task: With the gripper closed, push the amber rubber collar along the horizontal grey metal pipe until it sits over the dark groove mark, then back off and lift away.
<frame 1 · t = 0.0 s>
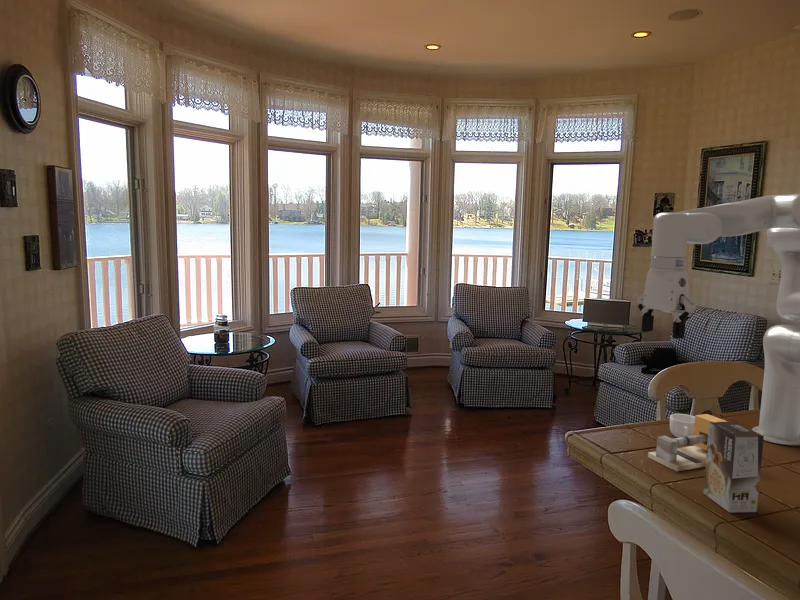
hand: (662, 334, 139), 31 cm above the table, fingers open, 9 cm apart
coffee box: (728, 503, 120), on the table
pipe stand: (692, 459, 142), on the table
collar: (709, 432, 143), point 6 cm above the table, slide at 0.0 cm
teacup: (683, 439, 157), on the table
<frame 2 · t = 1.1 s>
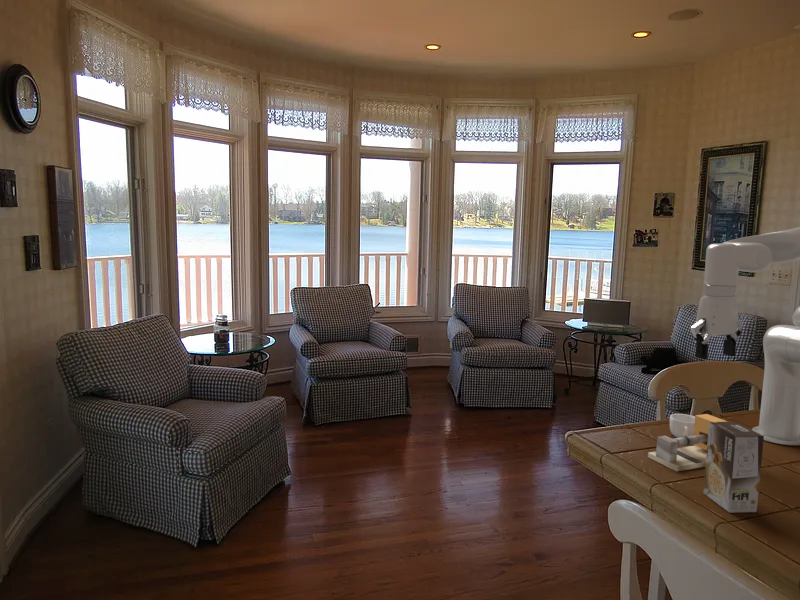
hand: (715, 356, 149), 24 cm above the table, fingers open, 9 cm apart
nothing on the table moved.
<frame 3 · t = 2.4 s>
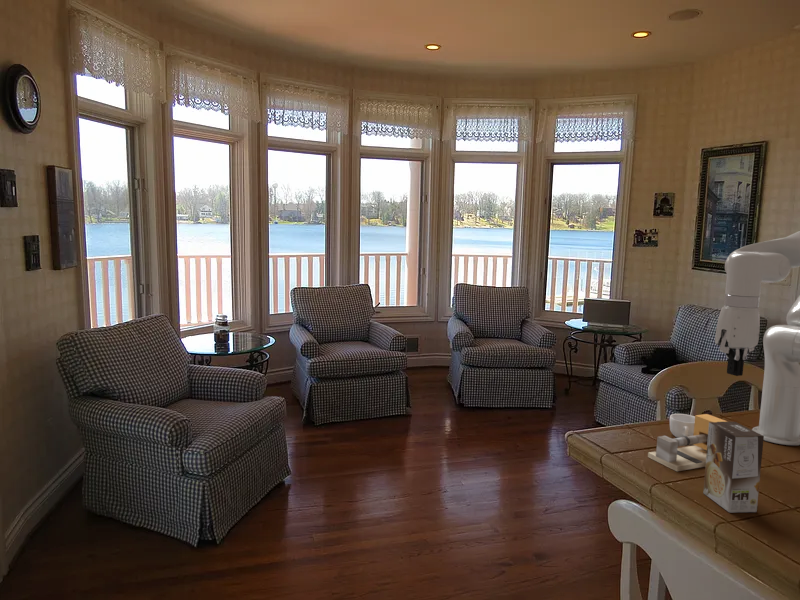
hand: (734, 374, 144), 21 cm above the table, fingers closed
nothing on the table moved.
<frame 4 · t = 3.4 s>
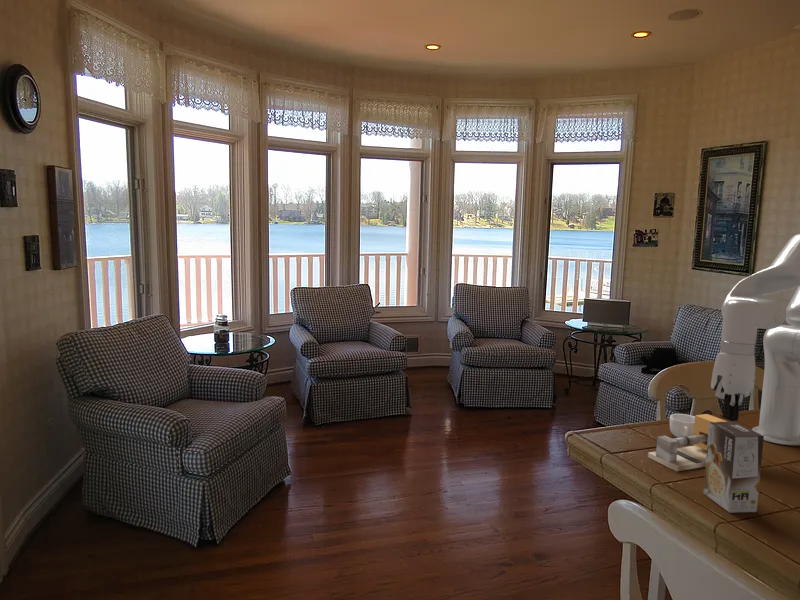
hand: (730, 419, 145), 9 cm above the table, fingers closed
nothing on the table moved.
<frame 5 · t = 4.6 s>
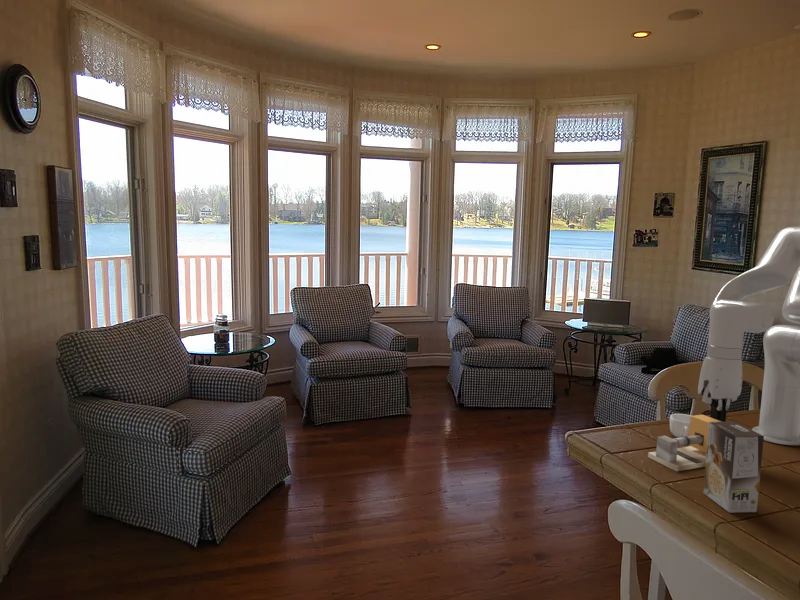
hand: (717, 424, 144), 8 cm above the table, fingers closed
collar: (705, 433, 143), point 6 cm above the table, slide at 1.5 cm, touching gripper
everything else where it was.
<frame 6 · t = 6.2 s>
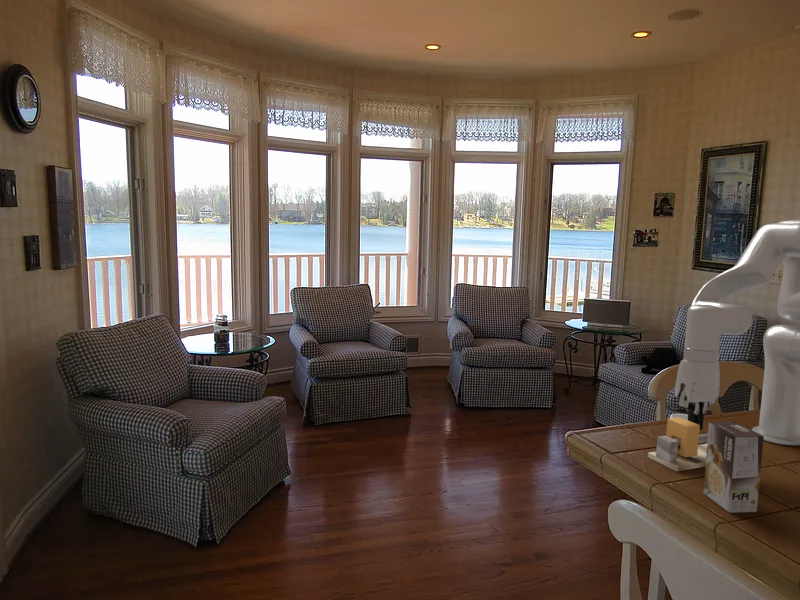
hand: (694, 427, 141), 8 cm above the table, fingers closed
collar: (682, 436, 140), point 6 cm above the table, slide at 9.1 cm, touching gripper
everything else where it was.
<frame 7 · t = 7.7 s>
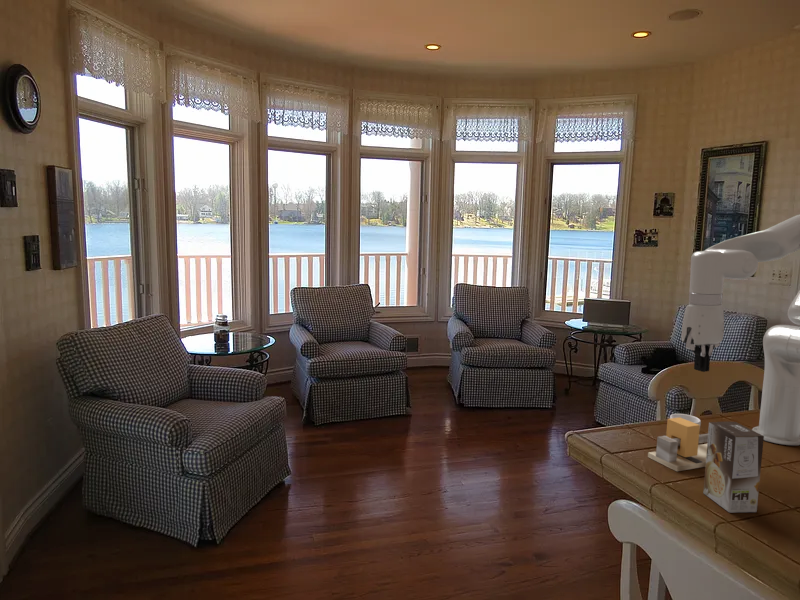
hand: (701, 370, 147), 21 cm above the table, fingers closed
collar: (682, 436, 140), point 6 cm above the table, slide at 9.1 cm
everything else where it was.
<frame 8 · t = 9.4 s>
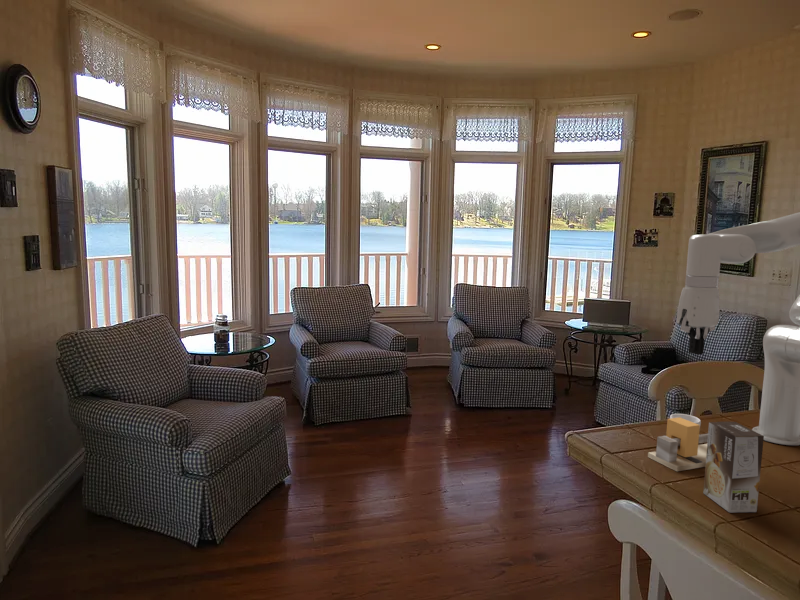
hand: (695, 353, 148), 25 cm above the table, fingers closed
nothing on the table moved.
at the end: collar slide at 9.1 cm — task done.
